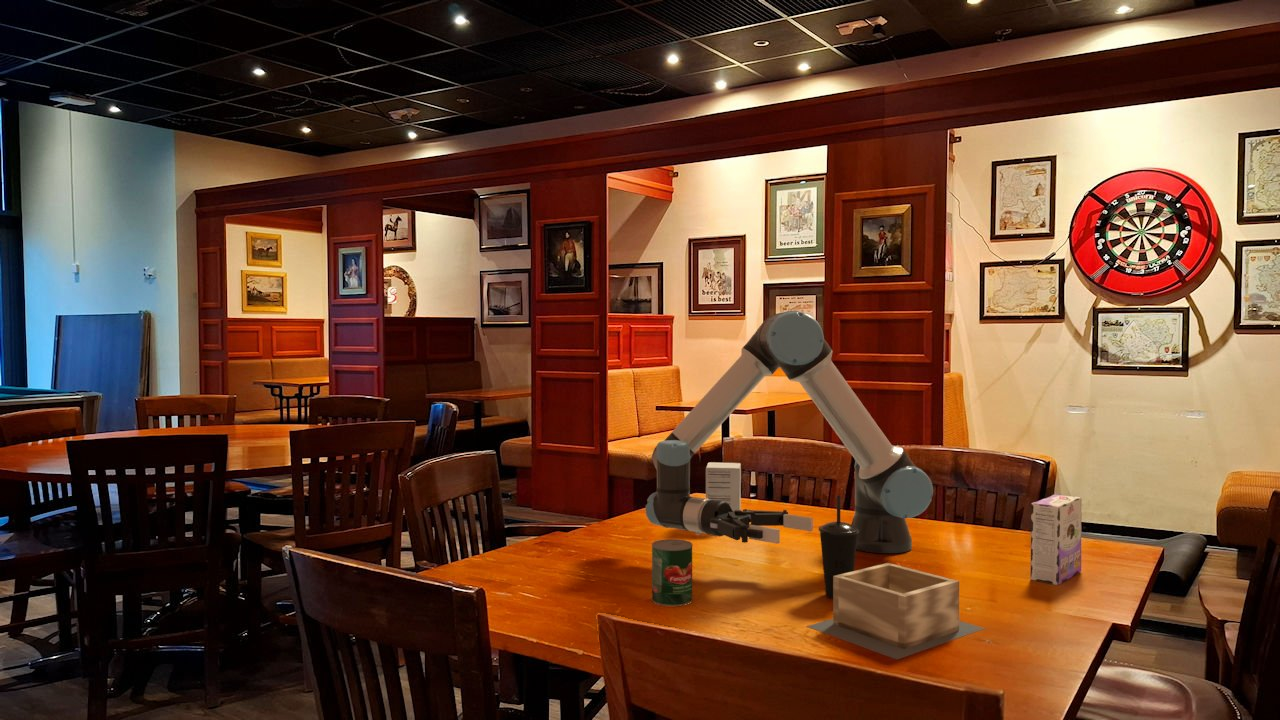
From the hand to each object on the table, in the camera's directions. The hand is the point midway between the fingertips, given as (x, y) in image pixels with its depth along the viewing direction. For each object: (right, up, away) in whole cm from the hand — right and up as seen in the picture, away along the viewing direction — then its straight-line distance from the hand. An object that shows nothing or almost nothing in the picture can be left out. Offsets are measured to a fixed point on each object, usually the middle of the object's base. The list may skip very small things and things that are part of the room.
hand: (796, 530), depth 170 cm
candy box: (+57, -12, +9) cm, 59 cm away
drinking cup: (+7, -12, -5) cm, 15 cm away
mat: (+13, -12, -24) cm, 30 cm away
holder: (+13, -12, -24) cm, 29 cm away
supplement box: (-9, -11, +58) cm, 60 cm away
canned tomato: (-25, -12, -7) cm, 29 cm away
